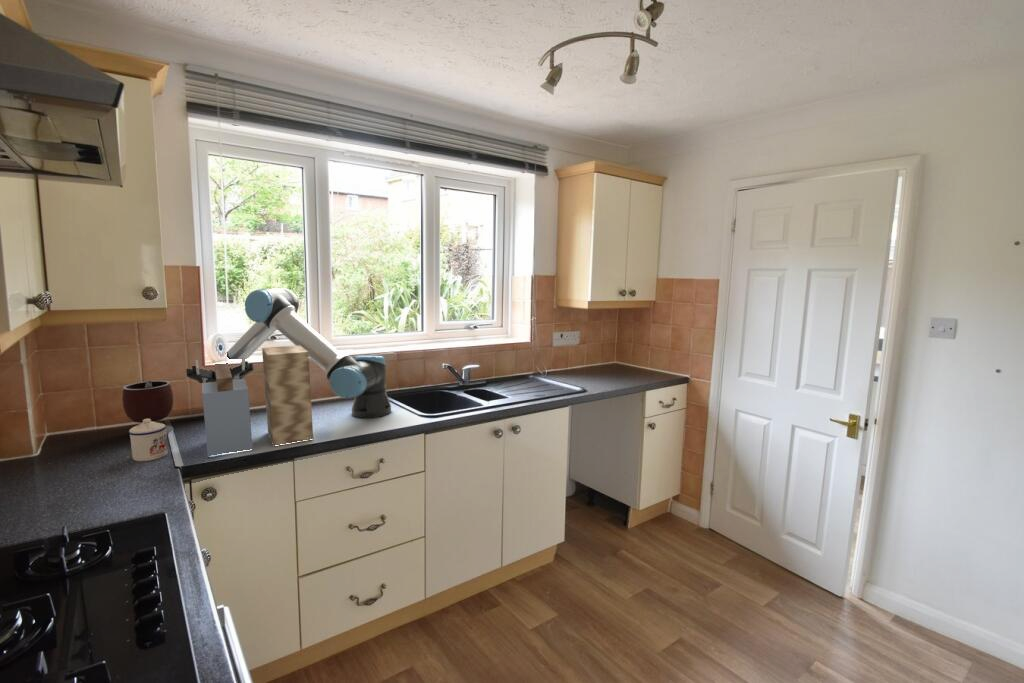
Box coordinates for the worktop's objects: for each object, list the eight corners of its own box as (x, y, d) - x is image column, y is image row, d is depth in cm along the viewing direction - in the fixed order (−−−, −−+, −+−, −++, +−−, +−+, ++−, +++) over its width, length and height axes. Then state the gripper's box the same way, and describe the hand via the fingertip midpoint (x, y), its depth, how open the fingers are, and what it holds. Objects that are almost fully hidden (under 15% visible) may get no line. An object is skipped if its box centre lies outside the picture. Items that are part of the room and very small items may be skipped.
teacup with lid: (155, 462, 145) (151, 424, 143) (124, 462, 145) (119, 424, 143) (181, 447, 157) (178, 412, 155) (152, 447, 157) (149, 412, 155)
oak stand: (304, 427, 177) (300, 345, 173) (313, 440, 164) (308, 351, 160) (267, 433, 171) (262, 348, 167) (273, 447, 158) (267, 355, 153)
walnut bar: (228, 374, 171) (228, 363, 171) (233, 390, 150) (232, 377, 149) (215, 375, 169) (214, 364, 169) (217, 391, 148) (216, 378, 147)
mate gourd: (124, 432, 171) (118, 376, 168) (172, 424, 180) (167, 370, 177) (129, 444, 160) (122, 384, 157) (180, 434, 169) (174, 377, 166)
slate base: (248, 436, 168) (244, 378, 165) (252, 450, 155) (248, 388, 152) (207, 442, 162) (202, 383, 159) (207, 458, 148) (202, 393, 145)
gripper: (259, 387, 189) (263, 368, 172) (181, 396, 176) (177, 376, 159) (257, 369, 191) (260, 348, 174) (180, 376, 178) (175, 354, 161)
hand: (220, 361), depth 166 cm, fingers open, 13 cm apart
